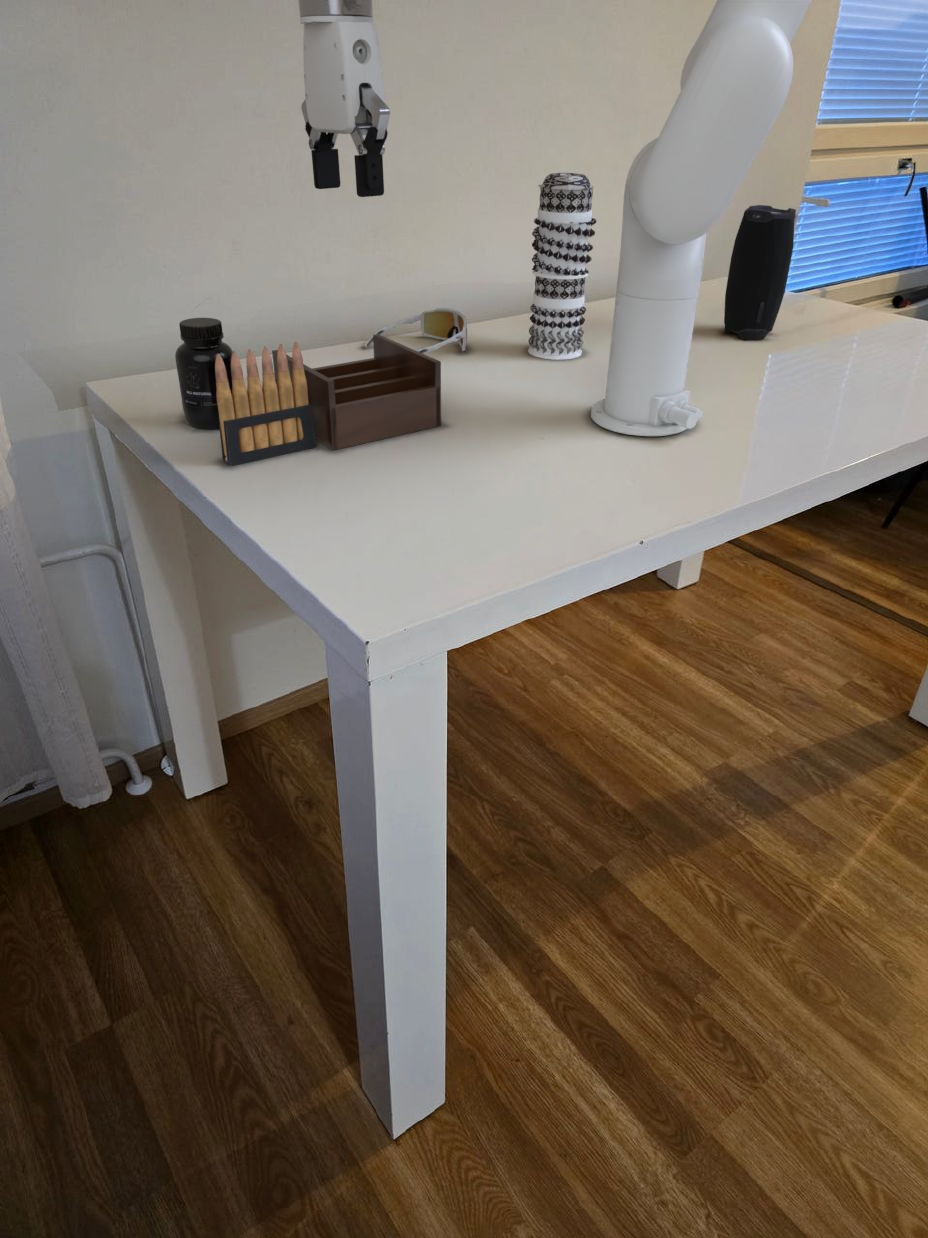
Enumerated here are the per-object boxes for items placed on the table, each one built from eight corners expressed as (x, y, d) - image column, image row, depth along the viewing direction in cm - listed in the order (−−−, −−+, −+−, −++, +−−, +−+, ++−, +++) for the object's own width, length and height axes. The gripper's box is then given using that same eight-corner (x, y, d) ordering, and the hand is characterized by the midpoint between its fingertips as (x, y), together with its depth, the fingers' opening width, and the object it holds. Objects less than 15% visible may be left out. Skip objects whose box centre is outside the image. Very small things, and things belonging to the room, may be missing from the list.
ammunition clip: (228, 466, 93) (212, 356, 87) (222, 461, 95) (206, 352, 88) (316, 447, 99) (307, 342, 92) (309, 442, 100) (299, 338, 93)
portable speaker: (720, 326, 149) (742, 203, 138) (776, 331, 146) (802, 206, 136) (716, 337, 142) (738, 209, 132) (774, 343, 140) (801, 212, 129)
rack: (441, 425, 105) (441, 361, 101) (333, 450, 98) (327, 381, 93) (380, 393, 115) (378, 333, 111) (278, 413, 108) (271, 350, 104)
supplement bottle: (192, 433, 102) (175, 331, 95) (180, 416, 107) (163, 318, 100) (248, 425, 104) (235, 325, 98) (234, 408, 109) (221, 312, 103)
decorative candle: (587, 360, 130) (604, 178, 116) (527, 359, 130) (537, 176, 116) (581, 344, 137) (596, 171, 124) (524, 343, 137) (533, 170, 124)
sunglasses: (486, 351, 133) (483, 319, 130) (405, 379, 127) (400, 347, 124) (437, 331, 143) (433, 301, 140) (360, 357, 137) (354, 326, 134)
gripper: (412, 3, 83) (417, 196, 92) (327, 12, 95) (339, 183, 104) (345, 0, 79) (358, 201, 89) (266, 10, 91) (284, 187, 100)
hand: (348, 191), depth 96 cm, fingers open, 9 cm apart
